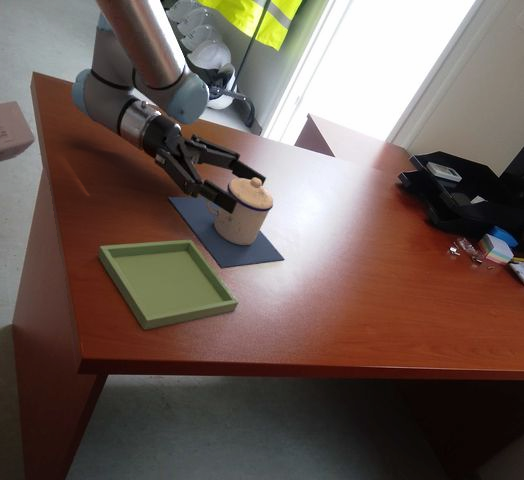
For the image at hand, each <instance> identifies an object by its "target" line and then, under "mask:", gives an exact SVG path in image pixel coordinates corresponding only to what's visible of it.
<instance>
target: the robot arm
mask: <svg viewBox="0 0 524 480" xmlns="http://www.w3.org/2000/svg"><path fill="white" fill-rule="evenodd" d="M94 2H95V4H96V6H97V7H98V9H99V10H100V11H99V17H98V21H97V24H96V26H95V27H96V28H95V29H96V30H95V39H94V45H93V53H92V61H91V68H85V69H82V70H80V71H79V72H78V74H77V75H76V76H75V81H74V83H73V84H72V87H71V98H72V102H73V104H74V106H75V107H76V109H77V110H79V111H80V112H81V113H83V114H84V115H86V116H87V117H88V118H89V119H90V120H91V121H93V122H94V123H98V124H99V125H101V126H103V127H104V128H106V130H107V129H108V130H109V131H110V132H112V133H114V134H116V135H117V136H118V137H120V138H122V139H123V140H124V141H126V142H128V143H129V144H130V145H131V146H133V147H134V148H137V149H138V150H139V151H141V152H142V151H143V152H144V153H145V154H146V155H147V156H149V157H151V158H152V159H154V164H156V165H157V166H158V167H160V168H161V169H162V170H163V171H164V172H165V173H166V174H167V176H168V177H169V178H170V179H171V180H172V181H173V182H174V183H175V185H176V186H177V187H178V188H179V189H180V190H181V192H182V193H183V194H184V195H186V196H190V197H193V198H197V197H199V195H200V196H201V197H205V198H207V199H208V200H210V201H211V202H213V203H214V204H216V205H218V206H219V207H221V208H222V209H224V210H225V211H227V212H229V213H230V214H232V213H233V211H234V209H235V206H236V204H237V202H238V199H237V198H235V197H234V196H232V195H231V194H229V193H227V190H224V189H223V188H221V187H220V186H218V185H216V184H215V183H214V182H212V181H210V180H209V179H205V180H203V178H202V177H201V175H200V173H199V172H198V170H197V168H196V167H195V165H200V166H201V165H202V164H206V165H209V166H214V167H218V168H221V169H224V170H229V171H231V174H232V175H234V176H235V177H236V178H244V179H248V180H252V178H258V179H260V180H261V182H262V186H263V187H264V184H265V182H266V179H267V177H266V176H265V175H263V174H261V173H260V172H258V170H257V171H256V169H254V168H252V167H250V166H249V165H248V164H246V163H244V162H243V161H241V160H240V158H241V154H240V153H238V152H237V151H234V150H232V149H229V148H226V147H224V146H221V145H219V144H217V143H214V142H211V141H209V140H206V139H204V138H202V137H201V136H199V135H197V134H195V133H192V134H191V138H188V137H185V136H183V134H182V132H181V126H180V125H185V126H188V125H192V124H194V123H196V122H197V121H198V120H199V118H201V116H202V115H203V114H204V113H205V111H206V109H207V106H208V104H209V100H210V91H209V87H208V84H207V83H206V82H205V81H204V80H202V79H201V78H200V76H199V75H198V74H197V73H194V72H193V71H191V69H190V68H189V66H188V64H187V61H186V59H185V57H184V54H183V52H182V50H181V47H180V45H179V43H178V40H177V38H176V36H175V35H176V34H175V33H174V31H173V29H172V26H171V23H170V20H169V19H168V16H167V14H166V12H165V9H164V6H163V4H162V2H161V0H94ZM134 89H135V90H136V91H137V92H139V93H140V94H142V95H143V96H144V97H145V98H146V99H148V100H149V101H150V102H151V103H152V104H154V105H155V106H156V107H157V108H158V109H160V110H161V111H163V113H165V114H166V115H165V114H161V113H160V111H158V110H156V109H155V108H153V107H152V106H150V105H149V104H148V102H147V100H141V99H140V98H139V97H138V96H136V95H134ZM171 118H172V119H171ZM174 120H175V121H174ZM176 121H177V122H178V123H177V122H176Z"/></svg>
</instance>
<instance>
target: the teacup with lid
mask: <svg viewBox="0 0 524 480" xmlns="http://www.w3.org/2000/svg"><path fill="white" fill-rule="evenodd" d="M226 188H227V189H226V192H227V193H229V194H231V195H232V196H234V197H235V198H237V199H238V202H237V204H236V206H235V209H234V211H233V213H232V214H230V213H229V212H227V211H225V210H224V209H222V208H221V207H220V209H219V211H217V210H215V209H213V208H212V207H211V205H210V203H209V201H210V200H208V199H207V198H206V207H207V209H208V211H209V212H210V213H212V214H213V215H216V219H215V222H214V226H215V229H216V231H217V232H218V233H219V234H220V235H221V236H222V237H223V238H224V239H226V240H227V241H229V242H232V243H234V244H238V245H249V244H252V243H253V242H254V240H255V239H256V236H257V234H258V232H259V230H260V231H261V229H262V227H263V225H264V222H265V220H266V218H267V216H268V214H269V213H270V211H271V210H272V209H273V207H274V198H273V195H272V194H271V193H270V192H269V191H268V190H267V189H266V188H265V187H264V185H263V186H262V182H261V180H260V179H258V178H252V180H248V179H244V178H238V177H236V178H233V179H231V180H230V181H229V182H228V183H227V187H226Z"/></svg>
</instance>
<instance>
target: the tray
mask: <svg viewBox="0 0 524 480" xmlns="http://www.w3.org/2000/svg"><path fill="white" fill-rule="evenodd" d="M97 258H98V259H99V261H100V262H101V264H102V265H103V267H104V269H105V271H106V272H107V274H108V275H109V277H110V279H111V280H112V281H113V283H114V285H115V286H116V288H117V289H118V291H119V292H120V294H121V296H122V298H123V299H124V301H125V302H126V304H127V306H128V307H129V308H130V310H131V312H132V313H133V315H134V316H135V318H136V320H137V321H138V323H139V325H140V326H141V328H142V329H143V330H144V331H145V330H151V329H155V328H160V327H161V328H162V327H166V326H169V325H175V324H178V323H185V322H188V321H194V320H199V319H203V318H208V317H213V316H217V315H221V314H226V313H232V312H235V311H236V309H237V307H238V305H239V301H238V299H237V298H236V297H235V296H234V294H233V293H232V292H231V290H230V289H229V288H228V286H227V285H226V283H225V282H224V281H223V280H222V278H221V277H220V275H218V273H217V272H216V270H215V269H214V267H213V266H212V265H211V264H210V262H209V261H208V259H207V258H206V257H205V256H204V254H203V253H202V252H201V250H200V249H199V248H198V247H197V245H196V244H195V243H194V241H193V239H178V240H165V241H151V242H149V241H148V242H138V243H124V244H123V243H122V244H110V245H109V244H108V245H100V246H99V249H98V253H97Z"/></svg>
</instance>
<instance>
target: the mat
mask: <svg viewBox="0 0 524 480" xmlns="http://www.w3.org/2000/svg"><path fill="white" fill-rule="evenodd" d="M167 199H168V201H169V202H170V204H171V205H172V206H173V207H174V209H175V210H176V211H177V213H178V214H179V215H180V217H181V218H182V219H183V221H184V222H185V223H186V224H187V225H188V227H189V229H190V230H191V231H192V232H193V234H194V235H195V236H196V237H197V239H198V240H199V241H200V242H201V244H202V245H203V246H204V248H205V249H206V250H207V252H208V253H209V254H210V256H212V258H213V260H214V261H215V262H216V264H218V266H219V267H220V269H226V268H233V267H241V266H250V265H257V264H264V263H272V262H279V261H281V262H282V261H285V258H284V256H283V255H282V254H281V253H280V252H279V250H278V249H277V248H276V247H275V245H274V244H273V243H271V241H270V240H269V238H267V236H266V235H265V234H264V233H263V232H262V230H261V229H260V230H259V232H258V234H257V236H256V239H255V240H254V242H253V243H252V244H249V245H238V244H234V243H232V242H229V241H227V240H226V239H224V238H223V237H222V236H221V235H220V234H219V233H218V232H217V231H216V229H215V226H214V222H215V219H216V215H213V214H212V213H210V212H209V211H208V209H207V207H206V198H205V197H204V196H197V198H193V197H192V196H183V197H182V196H168V197H167ZM209 203H210V205H211V207H212V208H213V209H215V210H217V211H219V209H220V207H219V206H218V205H216V204H214V203H213V202H211V201H209Z"/></svg>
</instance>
